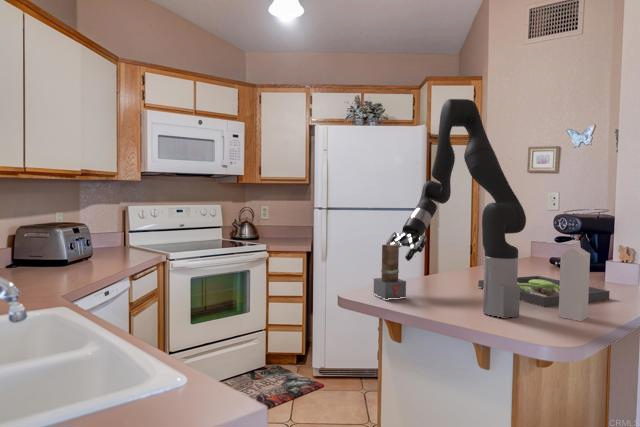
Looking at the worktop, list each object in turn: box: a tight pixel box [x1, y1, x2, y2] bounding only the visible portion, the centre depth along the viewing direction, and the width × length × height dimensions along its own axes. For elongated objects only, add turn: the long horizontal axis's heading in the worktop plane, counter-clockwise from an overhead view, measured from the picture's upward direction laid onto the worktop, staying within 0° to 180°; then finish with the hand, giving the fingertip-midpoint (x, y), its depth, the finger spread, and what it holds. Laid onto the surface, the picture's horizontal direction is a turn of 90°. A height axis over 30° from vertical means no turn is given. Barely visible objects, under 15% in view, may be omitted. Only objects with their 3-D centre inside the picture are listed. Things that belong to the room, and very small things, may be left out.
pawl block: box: [373, 277, 407, 299], centre depth 153 cm, size 8×8×6 cm
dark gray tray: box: [477, 275, 610, 307], centre depth 161 cm, size 30×30×3 cm
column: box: [380, 243, 400, 281], centre depth 153 cm, size 4×4×12 cm
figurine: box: [517, 279, 560, 294], centre depth 161 cm, size 18×27×6 cm
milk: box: [558, 241, 591, 322], centre depth 130 cm, size 6×6×22 cm
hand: (397, 257), depth 155 cm, fingers open, 8 cm apart
